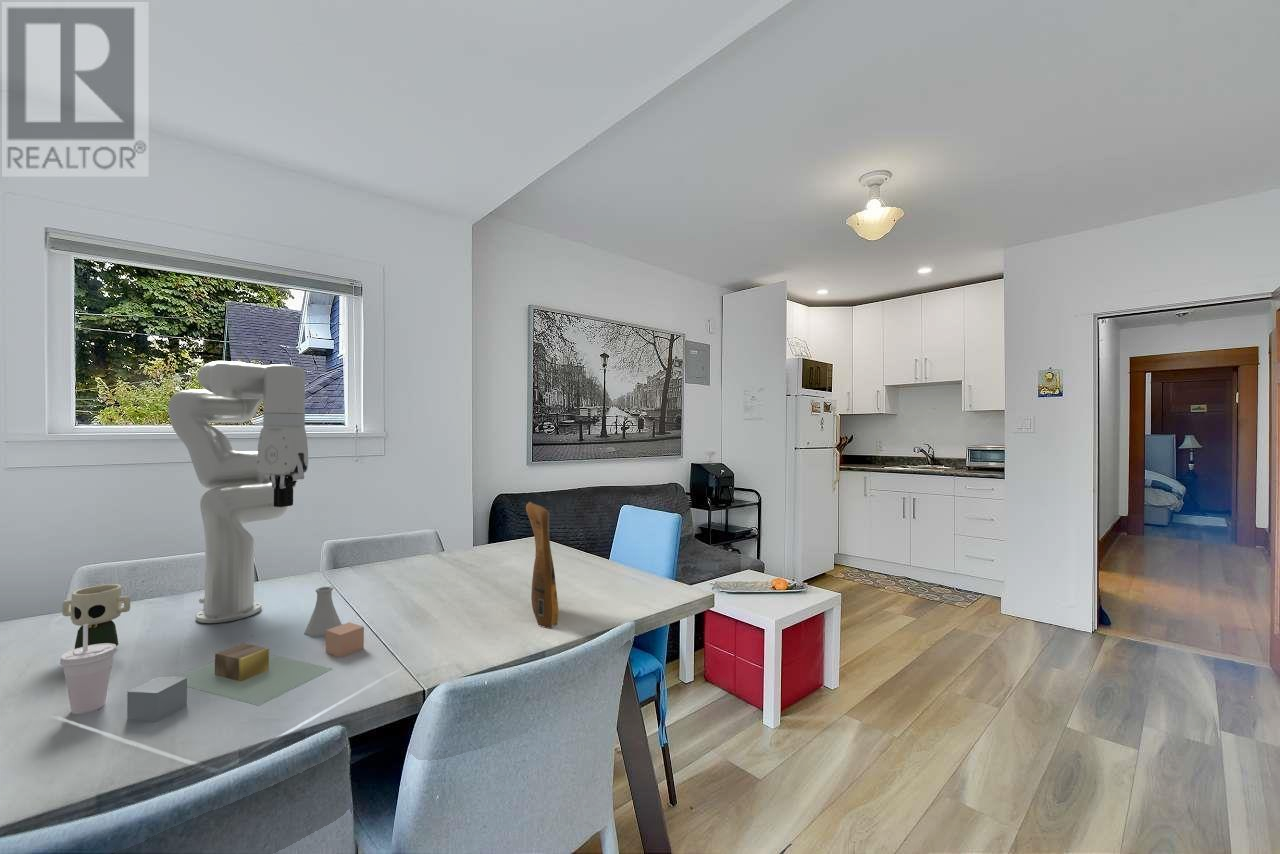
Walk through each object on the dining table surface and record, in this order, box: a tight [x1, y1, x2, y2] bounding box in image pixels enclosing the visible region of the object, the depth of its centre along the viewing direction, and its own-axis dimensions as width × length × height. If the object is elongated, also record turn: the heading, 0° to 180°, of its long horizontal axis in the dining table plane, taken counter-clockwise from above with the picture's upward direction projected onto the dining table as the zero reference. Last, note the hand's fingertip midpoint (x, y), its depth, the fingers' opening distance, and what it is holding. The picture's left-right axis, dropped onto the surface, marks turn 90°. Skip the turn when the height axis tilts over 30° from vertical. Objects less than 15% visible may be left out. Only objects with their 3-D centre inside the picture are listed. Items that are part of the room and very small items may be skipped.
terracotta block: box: [325, 621, 365, 658], centre depth 108 cm, size 5×5×5 cm
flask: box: [303, 586, 343, 638], centre depth 118 cm, size 7×7×10 cm
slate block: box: [126, 675, 188, 723], centre depth 84 cm, size 5×5×5 cm
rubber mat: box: [175, 654, 333, 707], centre depth 97 cm, size 24×14×1 cm, turn 71°
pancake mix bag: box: [525, 501, 559, 629], centre depth 129 cm, size 7×19×28 cm, turn 19°
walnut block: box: [214, 642, 270, 681], centre depth 98 cm, size 4×5×7 cm
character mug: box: [61, 583, 131, 649], centre depth 106 cm, size 11×7×13 cm, turn 106°
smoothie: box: [59, 624, 117, 715], centre depth 86 cm, size 6×6×14 cm
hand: (283, 505), depth 114 cm, fingers closed
